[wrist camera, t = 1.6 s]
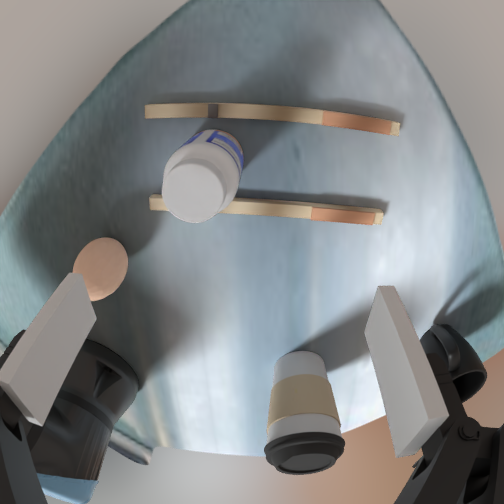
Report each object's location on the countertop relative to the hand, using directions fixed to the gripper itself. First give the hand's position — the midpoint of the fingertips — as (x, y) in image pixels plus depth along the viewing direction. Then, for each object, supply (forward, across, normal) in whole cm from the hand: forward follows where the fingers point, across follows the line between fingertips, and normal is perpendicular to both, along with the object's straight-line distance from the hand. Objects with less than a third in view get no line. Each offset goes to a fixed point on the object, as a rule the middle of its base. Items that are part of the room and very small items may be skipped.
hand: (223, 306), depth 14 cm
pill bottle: (+18, -3, +2) cm, 18 cm away
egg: (+18, -14, -8) cm, 24 cm away
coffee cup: (+18, +7, -25) cm, 32 cm away
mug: (+18, +25, -19) cm, 36 cm away
